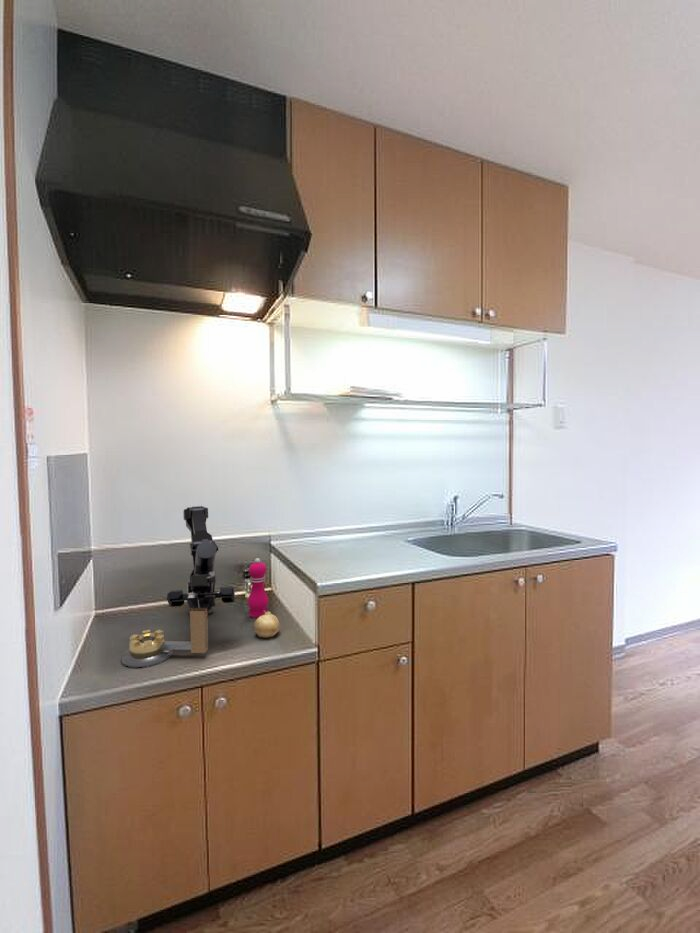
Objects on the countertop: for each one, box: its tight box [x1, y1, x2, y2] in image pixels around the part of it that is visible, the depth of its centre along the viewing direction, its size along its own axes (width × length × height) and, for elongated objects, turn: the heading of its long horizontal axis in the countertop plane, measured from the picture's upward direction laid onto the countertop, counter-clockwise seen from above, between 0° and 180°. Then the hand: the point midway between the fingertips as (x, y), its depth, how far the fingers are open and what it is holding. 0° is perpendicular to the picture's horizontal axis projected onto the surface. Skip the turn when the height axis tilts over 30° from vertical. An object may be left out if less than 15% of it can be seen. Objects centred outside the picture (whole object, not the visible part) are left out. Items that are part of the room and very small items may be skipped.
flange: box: [121, 647, 173, 669], centre depth 124 cm, size 13×13×2 cm
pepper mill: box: [247, 557, 269, 619], centre depth 153 cm, size 7×7×20 cm
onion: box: [253, 611, 280, 639], centre depth 138 cm, size 8×8×7 cm
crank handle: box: [129, 608, 209, 658], centre depth 124 cm, size 22×9×12 cm, turn 88°
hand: (199, 624), depth 125 cm, fingers closed
